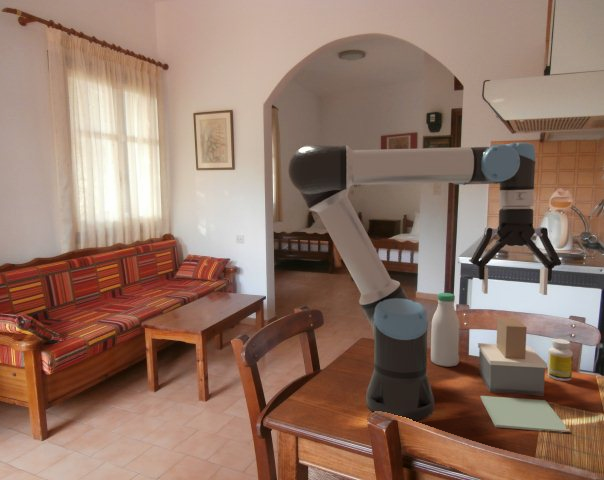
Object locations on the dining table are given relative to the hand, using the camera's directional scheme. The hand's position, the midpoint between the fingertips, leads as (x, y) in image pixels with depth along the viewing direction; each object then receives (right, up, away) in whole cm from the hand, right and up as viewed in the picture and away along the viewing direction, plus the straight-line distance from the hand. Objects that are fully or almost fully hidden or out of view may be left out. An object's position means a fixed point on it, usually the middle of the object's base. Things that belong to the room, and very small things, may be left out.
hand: (513, 293), depth 104 cm
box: (0, -23, +2) cm, 23 cm away
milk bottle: (-12, -22, +16) cm, 30 cm away
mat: (-5, -25, -13) cm, 28 cm away
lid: (0, -17, +2) cm, 17 cm away
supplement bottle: (+15, -23, +6) cm, 28 cm away
